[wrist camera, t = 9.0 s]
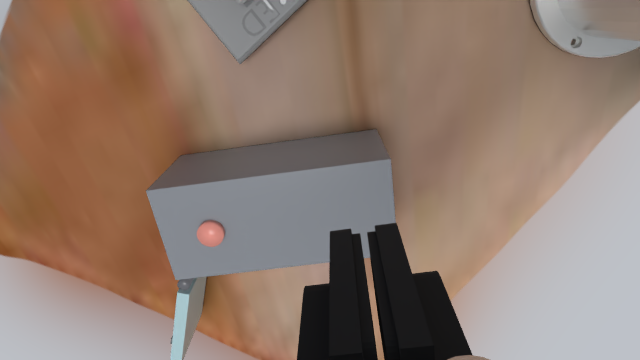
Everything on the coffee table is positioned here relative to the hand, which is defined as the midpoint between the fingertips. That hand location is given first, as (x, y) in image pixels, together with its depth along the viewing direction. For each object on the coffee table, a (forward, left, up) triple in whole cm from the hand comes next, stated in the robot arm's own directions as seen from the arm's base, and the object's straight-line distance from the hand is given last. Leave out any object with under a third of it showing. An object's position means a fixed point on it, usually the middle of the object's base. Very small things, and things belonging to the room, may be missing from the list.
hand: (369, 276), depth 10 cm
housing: (+6, +8, -27) cm, 28 cm away
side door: (+16, +17, -25) cm, 35 cm away
